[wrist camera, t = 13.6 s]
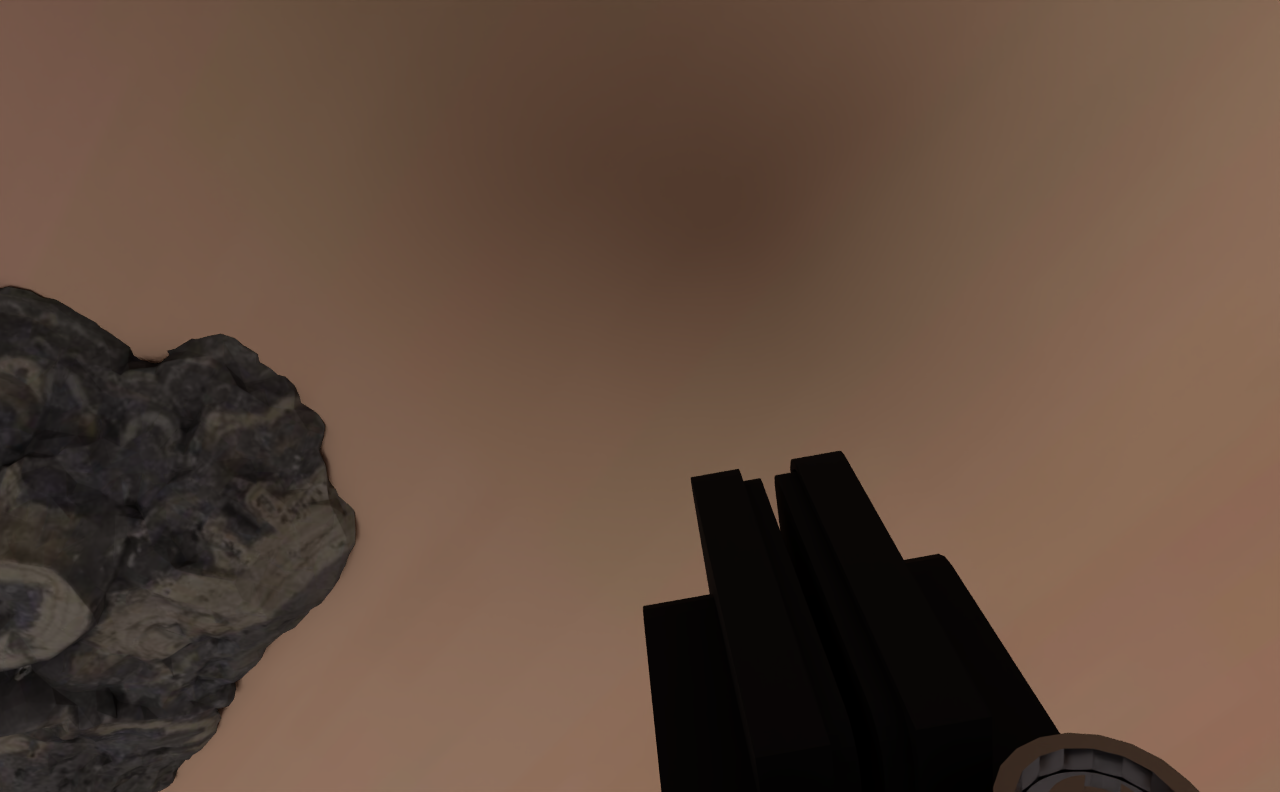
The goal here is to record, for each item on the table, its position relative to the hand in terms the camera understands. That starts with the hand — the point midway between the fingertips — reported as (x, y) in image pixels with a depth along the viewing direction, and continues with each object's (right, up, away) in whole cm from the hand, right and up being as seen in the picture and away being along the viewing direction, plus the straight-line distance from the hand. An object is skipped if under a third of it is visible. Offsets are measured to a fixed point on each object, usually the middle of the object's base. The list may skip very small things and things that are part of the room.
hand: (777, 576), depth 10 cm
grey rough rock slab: (-18, -1, +12) cm, 22 cm away
